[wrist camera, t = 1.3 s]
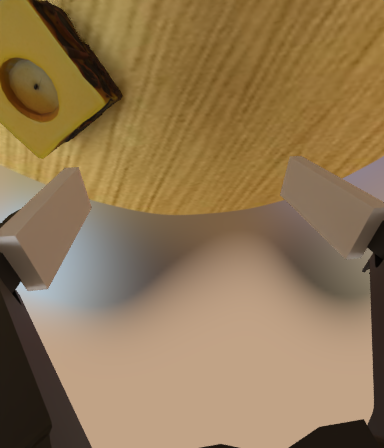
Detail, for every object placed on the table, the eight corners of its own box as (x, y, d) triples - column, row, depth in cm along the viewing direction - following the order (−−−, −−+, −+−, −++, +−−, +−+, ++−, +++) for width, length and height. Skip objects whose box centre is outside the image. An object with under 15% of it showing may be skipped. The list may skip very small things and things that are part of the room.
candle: (61, 6, 24) (8, -31, 15) (125, 95, 29) (111, 102, 21) (3, 67, 26) (-70, 63, 18) (72, 139, 31) (41, 161, 23)
